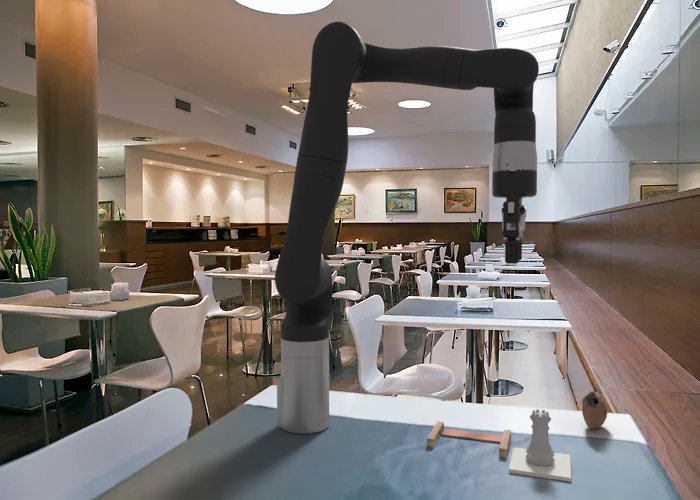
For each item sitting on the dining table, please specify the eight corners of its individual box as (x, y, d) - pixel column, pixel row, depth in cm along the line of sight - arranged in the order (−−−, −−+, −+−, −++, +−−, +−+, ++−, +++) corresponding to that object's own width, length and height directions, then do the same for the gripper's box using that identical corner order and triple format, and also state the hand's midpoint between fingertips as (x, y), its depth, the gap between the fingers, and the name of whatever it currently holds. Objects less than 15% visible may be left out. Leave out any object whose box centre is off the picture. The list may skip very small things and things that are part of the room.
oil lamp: (601, 439, 99) (602, 395, 98) (577, 435, 101) (578, 392, 100) (608, 424, 106) (609, 383, 106) (586, 420, 108) (586, 380, 108)
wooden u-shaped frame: (426, 446, 96) (426, 438, 95) (437, 429, 104) (437, 421, 104) (506, 458, 91) (506, 449, 91) (510, 438, 99) (511, 430, 99)
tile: (508, 472, 85) (508, 468, 85) (513, 450, 94) (513, 447, 94) (571, 481, 82) (571, 477, 82) (569, 458, 91) (569, 454, 91)
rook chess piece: (557, 467, 86) (558, 417, 85) (528, 466, 86) (528, 416, 86) (551, 456, 90) (551, 408, 90) (523, 454, 91) (523, 406, 90)
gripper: (496, 174, 104) (496, 259, 105) (487, 166, 91) (487, 264, 92) (538, 172, 102) (537, 260, 102) (535, 164, 88) (534, 265, 89)
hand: (513, 261), depth 97 cm, fingers open, 8 cm apart
